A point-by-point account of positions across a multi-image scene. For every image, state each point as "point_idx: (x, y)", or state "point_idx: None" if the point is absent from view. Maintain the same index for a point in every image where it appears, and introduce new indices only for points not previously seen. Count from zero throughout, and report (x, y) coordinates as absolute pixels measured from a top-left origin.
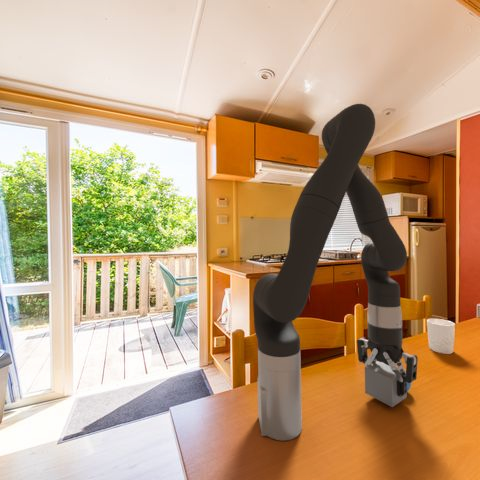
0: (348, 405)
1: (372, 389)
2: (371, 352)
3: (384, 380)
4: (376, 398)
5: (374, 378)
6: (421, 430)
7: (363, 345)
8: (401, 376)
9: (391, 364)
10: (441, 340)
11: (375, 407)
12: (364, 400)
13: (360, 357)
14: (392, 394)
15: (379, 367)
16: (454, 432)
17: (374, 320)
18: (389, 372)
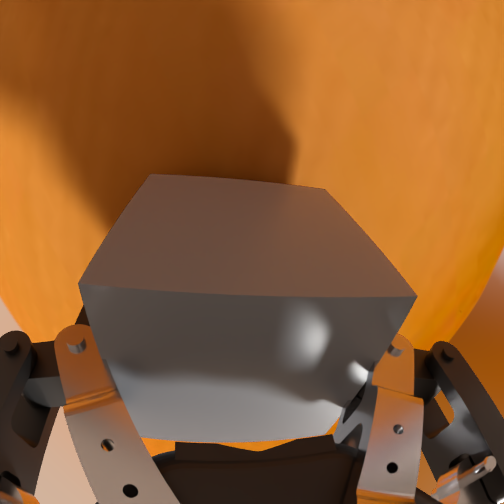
0: (353, 59)
1: (287, 201)
2: (414, 490)
3: (178, 256)
4: (251, 181)
5: (291, 247)
6: (40, 161)
7: (479, 477)
8: (59, 366)
9: (116, 465)
10: None
11: (243, 145)
12: (311, 161)
13: (457, 370)
14: (127, 207)
15: (293, 384)
16: (4, 248)
17: None
18: (182, 376)
